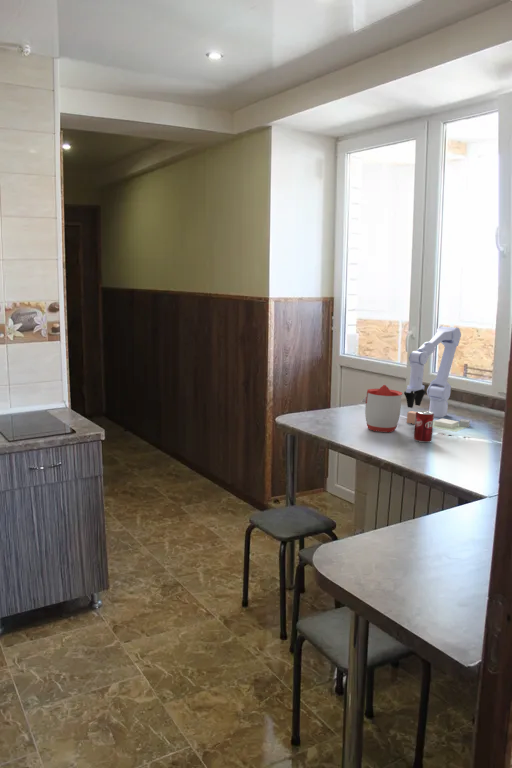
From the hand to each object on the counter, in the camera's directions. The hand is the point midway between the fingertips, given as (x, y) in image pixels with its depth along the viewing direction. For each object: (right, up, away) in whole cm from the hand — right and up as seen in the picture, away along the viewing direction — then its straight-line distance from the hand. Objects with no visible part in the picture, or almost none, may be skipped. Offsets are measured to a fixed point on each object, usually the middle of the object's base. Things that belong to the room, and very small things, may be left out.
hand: (413, 406), depth 299 cm
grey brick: (+22, -9, -5) cm, 24 cm away
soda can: (-4, -13, -30) cm, 33 cm away
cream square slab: (+13, -8, -6) cm, 17 cm away
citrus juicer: (-19, -10, -14) cm, 26 cm away
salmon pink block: (0, -8, +1) cm, 8 cm away
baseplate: (+13, -9, -6) cm, 17 cm away
